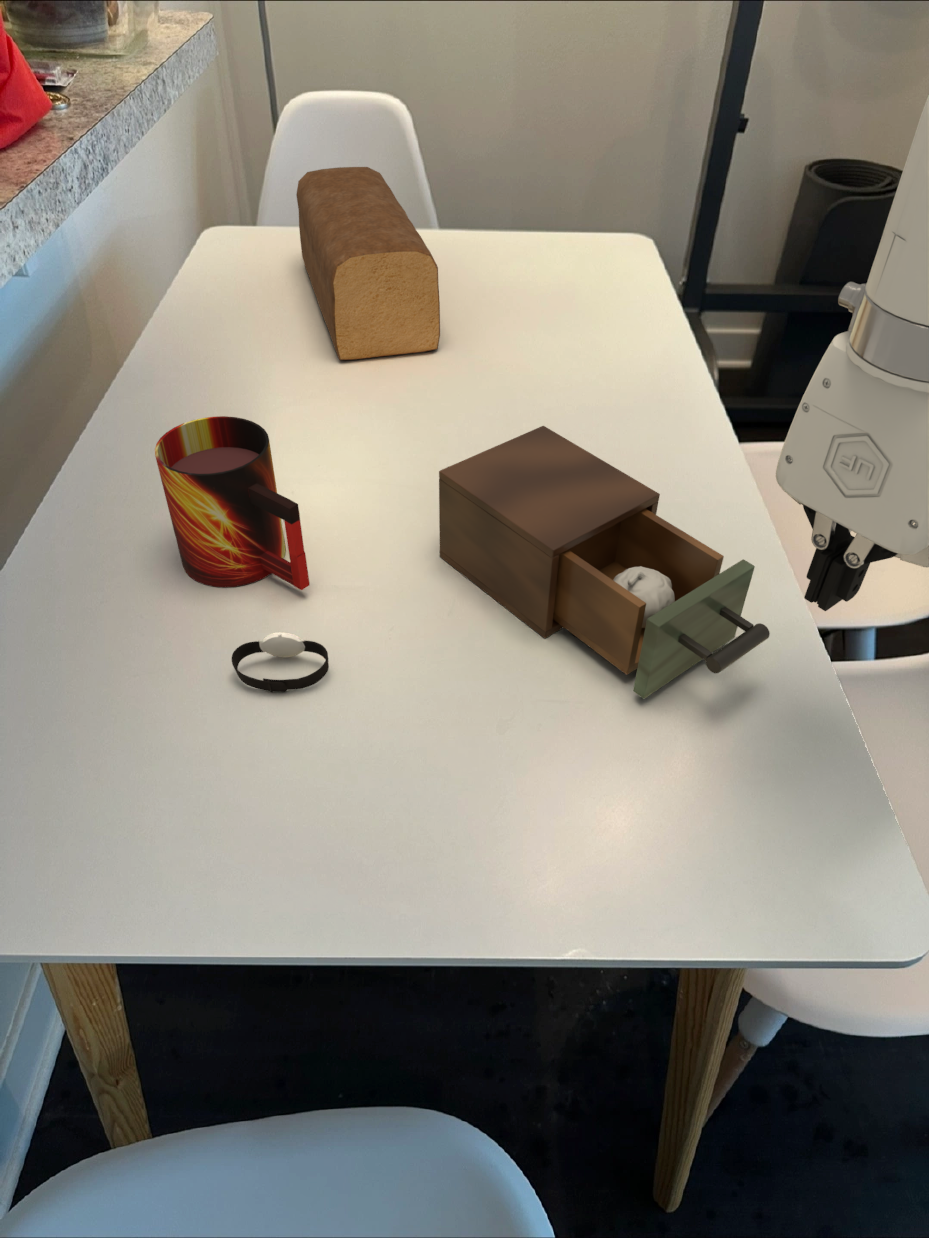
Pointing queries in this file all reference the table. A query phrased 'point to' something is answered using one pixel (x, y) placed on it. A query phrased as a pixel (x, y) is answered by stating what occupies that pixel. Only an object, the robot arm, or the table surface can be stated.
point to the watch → (281, 647)
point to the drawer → (673, 632)
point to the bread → (367, 265)
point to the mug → (229, 504)
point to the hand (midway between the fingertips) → (827, 596)
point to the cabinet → (529, 517)
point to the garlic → (647, 588)
